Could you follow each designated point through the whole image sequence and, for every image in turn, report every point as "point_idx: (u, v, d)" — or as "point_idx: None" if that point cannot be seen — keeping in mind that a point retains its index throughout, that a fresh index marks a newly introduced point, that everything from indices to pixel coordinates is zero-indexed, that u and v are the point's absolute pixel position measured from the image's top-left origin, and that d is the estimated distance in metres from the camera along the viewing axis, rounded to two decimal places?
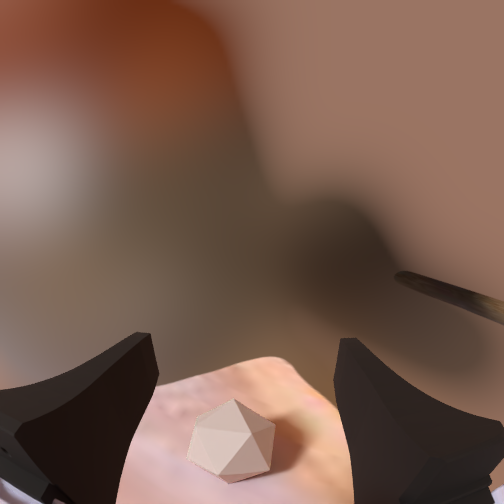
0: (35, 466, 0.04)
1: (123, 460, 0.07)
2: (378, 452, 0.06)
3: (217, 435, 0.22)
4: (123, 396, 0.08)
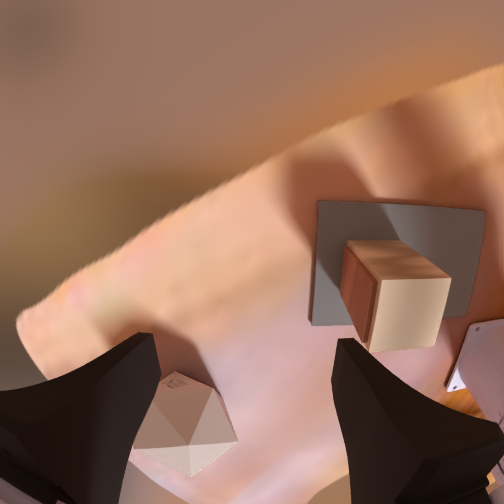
0: (38, 468, 0.04)
1: (125, 460, 0.07)
2: (375, 453, 0.06)
3: (196, 463, 0.18)
4: (125, 397, 0.08)
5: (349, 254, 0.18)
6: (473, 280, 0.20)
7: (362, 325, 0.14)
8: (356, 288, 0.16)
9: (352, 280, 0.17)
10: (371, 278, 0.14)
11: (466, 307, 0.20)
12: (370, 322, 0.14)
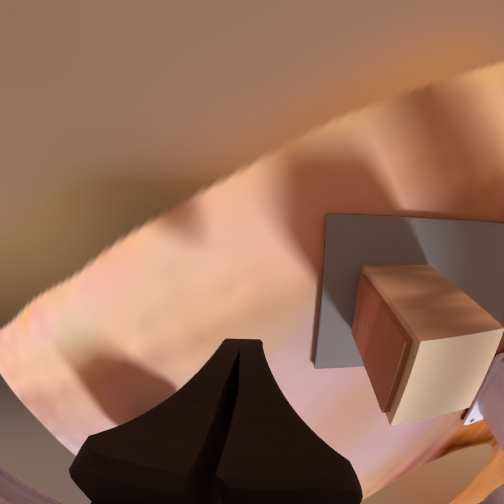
0: None
1: None
2: None
3: None
4: (230, 410, 0.08)
5: (367, 288, 0.13)
6: None
7: (384, 391, 0.10)
8: (377, 338, 0.11)
9: (371, 324, 0.12)
10: (403, 334, 0.09)
11: None
12: (395, 388, 0.09)
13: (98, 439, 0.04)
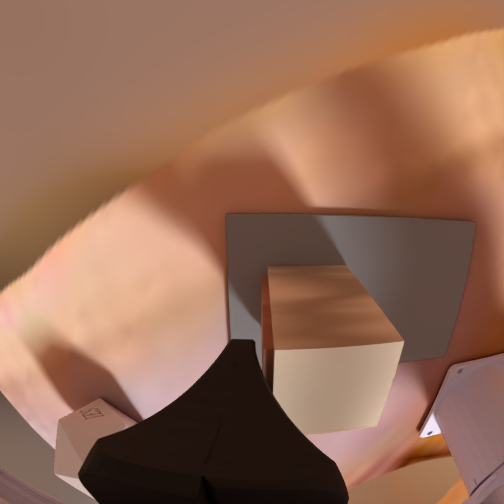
0: None
1: None
2: None
3: None
4: None
5: None
6: (455, 313, 0.15)
7: None
8: (262, 342, 0.11)
9: None
10: (266, 340, 0.09)
11: (445, 347, 0.16)
12: None
13: (107, 441, 0.04)
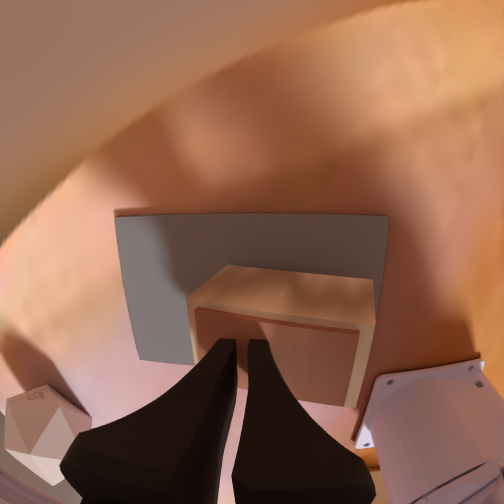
0: None
1: (219, 477, 0.07)
2: None
3: (49, 473, 0.14)
4: (222, 409, 0.08)
5: (230, 319, 0.11)
6: None
7: (337, 390, 0.10)
8: (289, 358, 0.10)
9: None
10: (347, 331, 0.09)
11: None
12: (346, 380, 0.10)
13: (87, 435, 0.04)
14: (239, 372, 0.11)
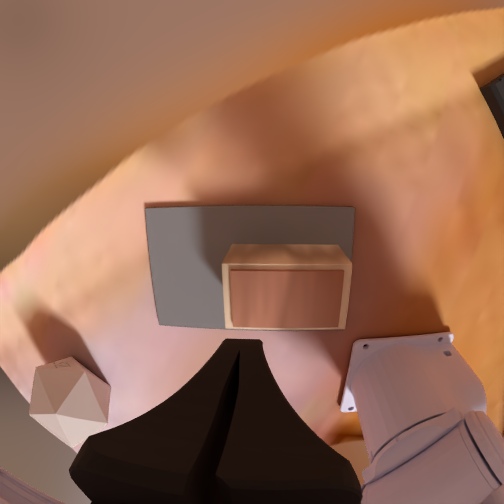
0: None
1: None
2: None
3: (70, 434, 0.19)
4: (230, 410, 0.08)
5: (258, 272, 0.16)
6: None
7: (333, 314, 0.16)
8: (300, 295, 0.16)
9: (282, 293, 0.16)
10: (336, 270, 0.16)
11: None
12: (336, 307, 0.16)
13: (97, 439, 0.04)
14: (263, 314, 0.16)
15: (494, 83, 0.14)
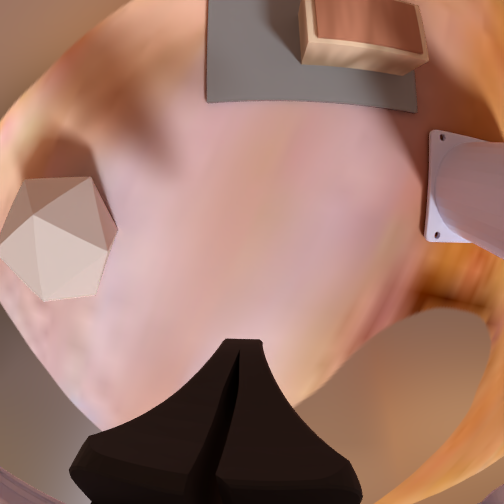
0: None
1: None
2: None
3: (46, 266, 0.14)
4: (230, 410, 0.08)
5: None
6: None
7: (415, 39, 0.11)
8: (381, 14, 0.11)
9: (364, 10, 0.11)
10: (407, 4, 0.11)
11: (414, 100, 0.16)
12: (416, 37, 0.11)
13: (97, 438, 0.04)
14: (350, 25, 0.12)
15: None
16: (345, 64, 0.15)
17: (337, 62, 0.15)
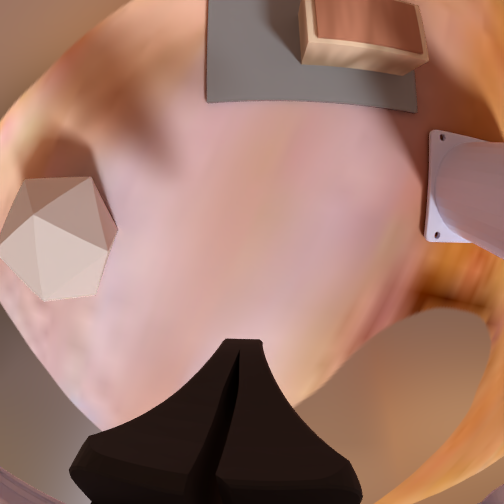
0: None
1: None
2: None
3: (46, 266, 0.14)
4: (230, 410, 0.08)
5: None
6: None
7: (415, 39, 0.11)
8: (381, 14, 0.11)
9: (364, 10, 0.11)
10: (407, 4, 0.11)
11: (414, 100, 0.16)
12: (416, 37, 0.11)
13: (97, 438, 0.04)
14: (350, 25, 0.12)
15: None
16: (345, 64, 0.15)
17: (337, 62, 0.15)
